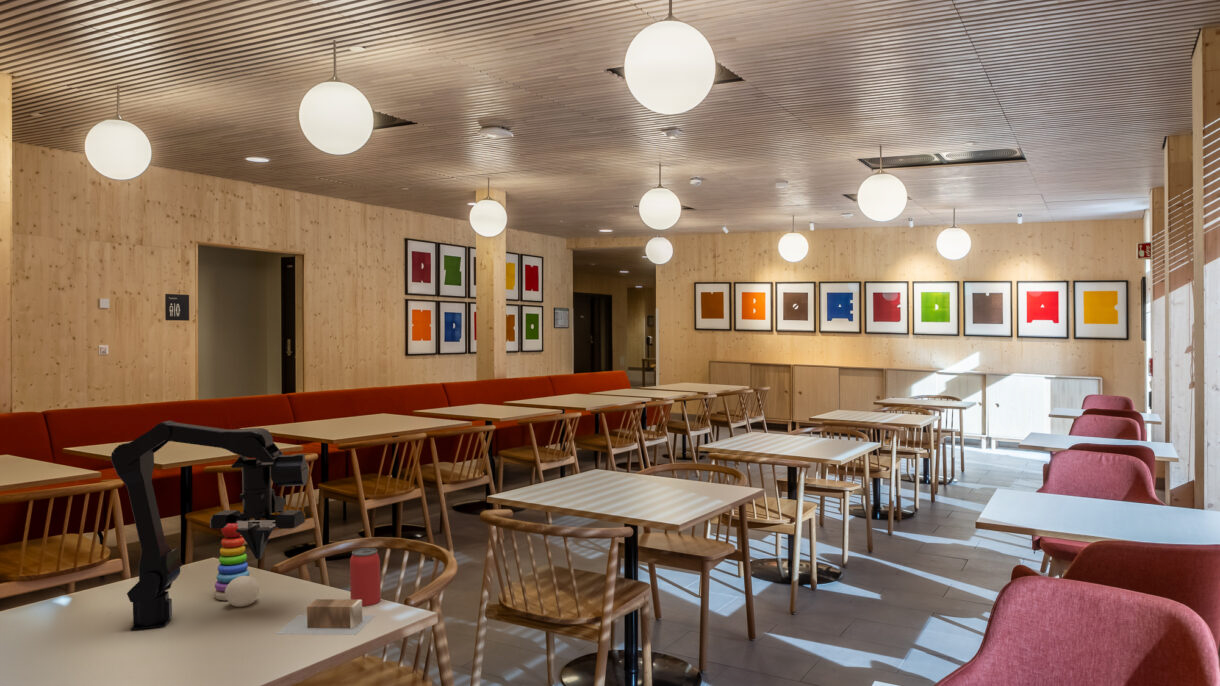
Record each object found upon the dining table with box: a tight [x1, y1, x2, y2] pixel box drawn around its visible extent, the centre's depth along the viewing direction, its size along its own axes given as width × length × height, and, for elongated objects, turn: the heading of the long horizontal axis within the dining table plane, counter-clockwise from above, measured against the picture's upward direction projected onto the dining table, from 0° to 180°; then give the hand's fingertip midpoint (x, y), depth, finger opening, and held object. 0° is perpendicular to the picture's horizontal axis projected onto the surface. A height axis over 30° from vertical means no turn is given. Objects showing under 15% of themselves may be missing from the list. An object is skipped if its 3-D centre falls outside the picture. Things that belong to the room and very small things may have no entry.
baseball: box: [225, 575, 260, 608], centre depth 184 cm, size 7×7×7 cm
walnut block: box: [306, 598, 363, 628], centre depth 170 cm, size 4×4×10 cm
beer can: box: [349, 547, 382, 608], centre depth 184 cm, size 7×7×12 cm
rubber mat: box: [275, 614, 376, 636], centre depth 170 cm, size 17×11×1 cm, turn 86°
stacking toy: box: [213, 523, 250, 601], centre depth 191 cm, size 8×8×19 cm
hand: (258, 558), depth 176 cm, fingers closed
